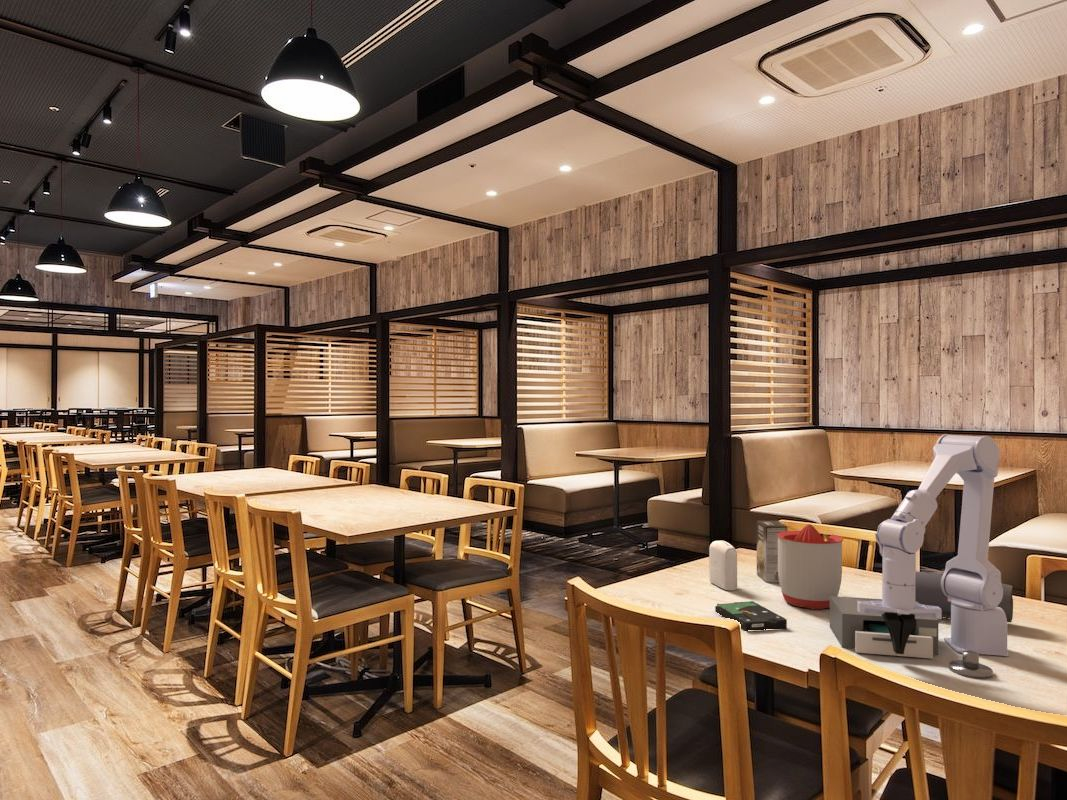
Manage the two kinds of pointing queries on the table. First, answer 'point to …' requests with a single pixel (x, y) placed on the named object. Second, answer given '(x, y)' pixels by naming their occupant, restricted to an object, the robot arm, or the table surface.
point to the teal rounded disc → (878, 627)
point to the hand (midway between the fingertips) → (898, 652)
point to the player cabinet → (850, 620)
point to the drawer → (883, 644)
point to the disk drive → (751, 616)
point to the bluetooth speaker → (933, 595)
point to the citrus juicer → (809, 567)
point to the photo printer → (723, 565)
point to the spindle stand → (970, 666)
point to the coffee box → (768, 549)
